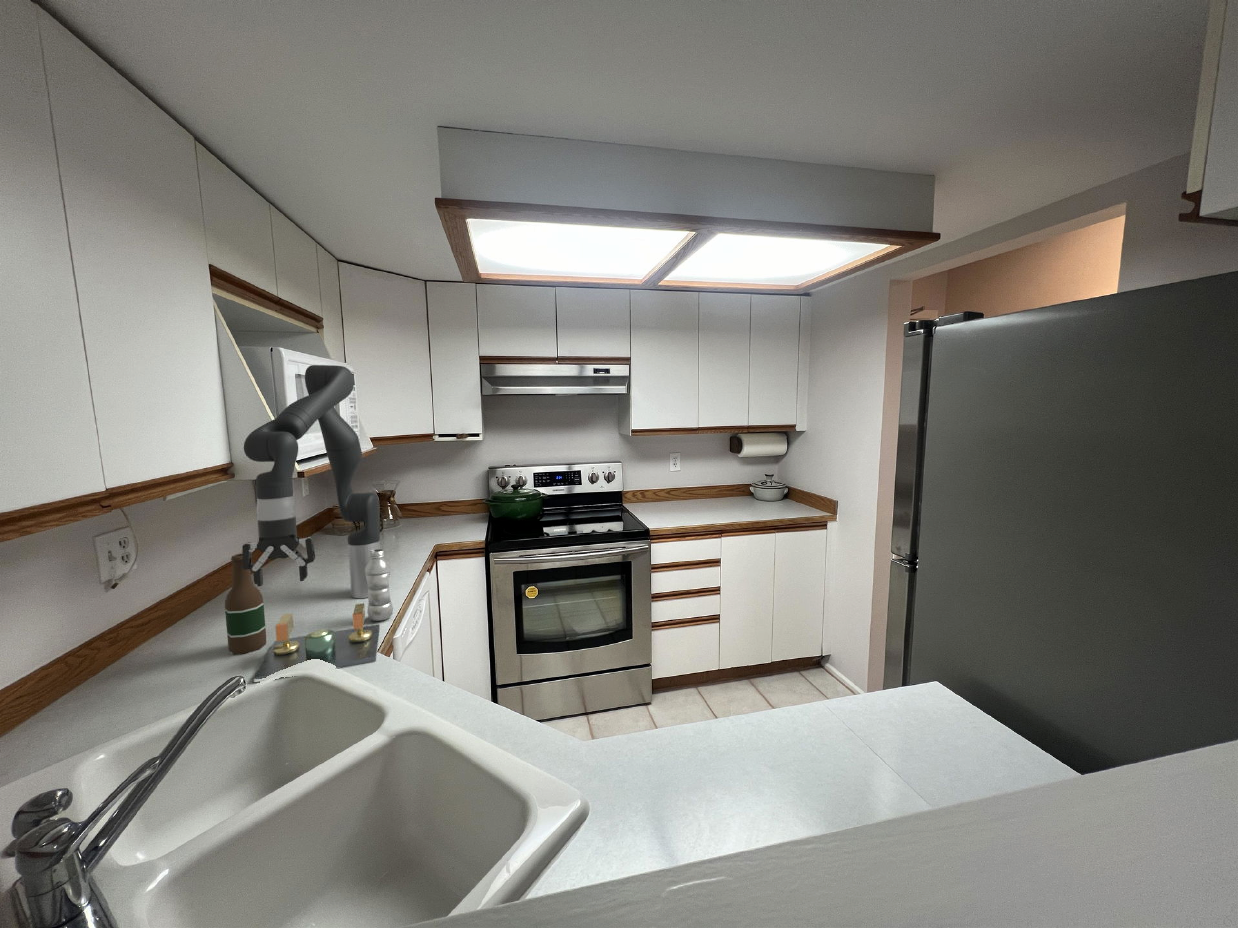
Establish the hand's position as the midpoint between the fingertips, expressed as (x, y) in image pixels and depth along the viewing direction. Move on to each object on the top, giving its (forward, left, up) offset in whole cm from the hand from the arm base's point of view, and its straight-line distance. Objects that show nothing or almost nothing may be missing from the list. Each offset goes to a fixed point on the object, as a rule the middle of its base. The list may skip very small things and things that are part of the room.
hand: (281, 582), depth 120 cm
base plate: (+2, +8, -18) cm, 20 cm away
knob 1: (0, 0, -17) cm, 17 cm away
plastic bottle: (-15, +20, -18) cm, 31 cm away
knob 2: (0, +16, -17) cm, 23 cm away
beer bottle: (-9, -10, -18) cm, 23 cm away
